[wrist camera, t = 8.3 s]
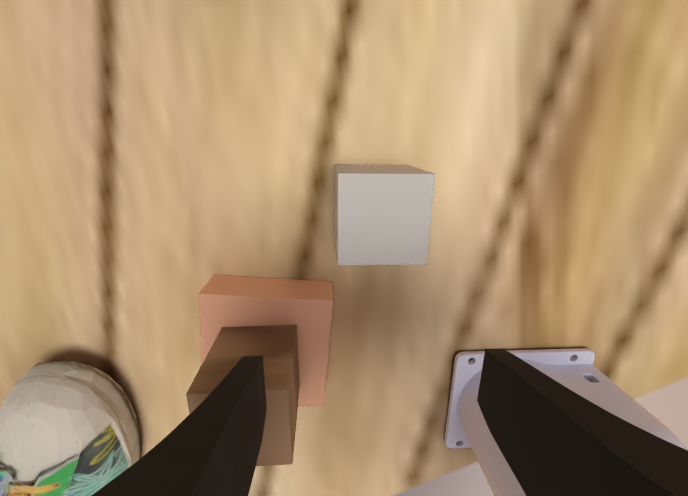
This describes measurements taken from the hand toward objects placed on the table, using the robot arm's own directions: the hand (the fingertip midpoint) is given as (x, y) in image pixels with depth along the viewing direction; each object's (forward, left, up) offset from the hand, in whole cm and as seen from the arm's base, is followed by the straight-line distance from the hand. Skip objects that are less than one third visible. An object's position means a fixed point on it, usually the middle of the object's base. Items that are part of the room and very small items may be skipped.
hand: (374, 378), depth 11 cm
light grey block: (-1, -4, -10) cm, 11 cm away
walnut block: (+5, +4, -7) cm, 10 cm away
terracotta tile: (+5, +4, -10) cm, 12 cm away
